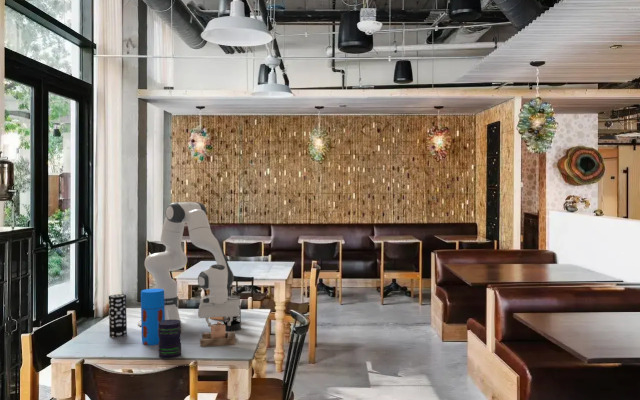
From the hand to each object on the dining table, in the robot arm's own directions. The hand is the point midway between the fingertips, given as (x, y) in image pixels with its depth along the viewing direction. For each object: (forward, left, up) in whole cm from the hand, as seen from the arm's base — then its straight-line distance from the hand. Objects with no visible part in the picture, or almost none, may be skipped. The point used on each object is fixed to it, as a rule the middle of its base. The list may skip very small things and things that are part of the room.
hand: (219, 326), depth 292 cm
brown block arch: (0, -7, -6) cm, 9 cm away
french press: (+6, +17, -6) cm, 19 cm away
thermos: (-31, -3, -6) cm, 32 cm away
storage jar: (-20, -27, -6) cm, 34 cm away
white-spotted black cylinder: (-51, +13, -6) cm, 53 cm away
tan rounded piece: (0, -5, -6) cm, 8 cm away
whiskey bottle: (-1, +44, -6) cm, 44 cm away
